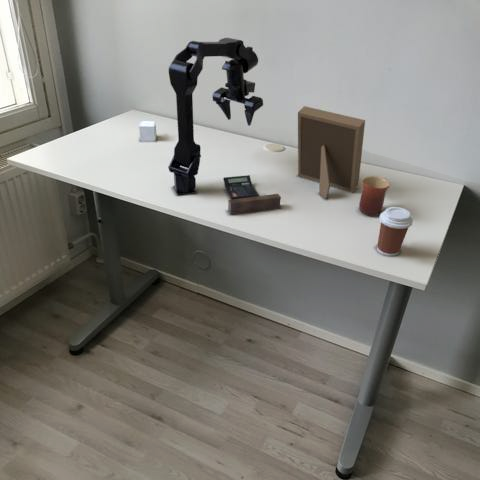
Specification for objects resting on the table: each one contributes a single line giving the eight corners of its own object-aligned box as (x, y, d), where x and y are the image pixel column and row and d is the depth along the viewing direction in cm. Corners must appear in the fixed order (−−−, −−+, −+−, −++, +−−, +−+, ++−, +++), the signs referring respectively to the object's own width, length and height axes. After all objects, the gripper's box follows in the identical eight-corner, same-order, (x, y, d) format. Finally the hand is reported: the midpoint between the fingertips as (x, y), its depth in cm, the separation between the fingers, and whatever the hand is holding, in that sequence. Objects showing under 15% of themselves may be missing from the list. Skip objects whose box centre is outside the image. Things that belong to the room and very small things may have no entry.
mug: (375, 221, 155) (382, 190, 149) (351, 212, 159) (356, 182, 153) (392, 208, 163) (399, 178, 156) (368, 199, 167) (374, 170, 160)
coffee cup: (405, 260, 138) (416, 222, 131) (372, 256, 139) (381, 218, 132) (402, 243, 145) (413, 206, 138) (371, 239, 146) (380, 203, 139)
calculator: (231, 199, 164) (231, 191, 162) (223, 185, 172) (223, 177, 170) (258, 197, 166) (258, 189, 164) (248, 182, 174) (249, 174, 172)
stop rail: (230, 214, 156) (230, 203, 153) (228, 211, 157) (228, 199, 155) (279, 208, 160) (280, 196, 157) (277, 204, 162) (278, 193, 159)
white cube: (156, 136, 206) (155, 121, 202) (155, 141, 202) (154, 126, 198) (142, 135, 206) (140, 121, 202) (140, 141, 201) (139, 126, 197)
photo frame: (303, 172, 182) (312, 102, 166) (357, 188, 173) (372, 115, 157) (283, 186, 173) (290, 113, 157) (339, 203, 164) (353, 128, 148)
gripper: (271, 74, 167) (272, 118, 179) (228, 64, 175) (232, 107, 187) (252, 88, 161) (255, 132, 173) (208, 77, 170) (214, 120, 181)
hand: (239, 122), depth 179 cm, fingers open, 9 cm apart
